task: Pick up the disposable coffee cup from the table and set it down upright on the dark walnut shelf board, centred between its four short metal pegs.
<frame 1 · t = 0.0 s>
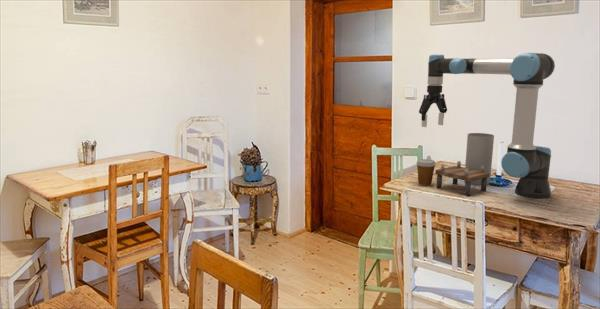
hand: (432, 126, 248), 28 cm above the table, tool pointing down, fingers open, 13 cm apart
peg shelf stand: (460, 189, 230), on the table
disposable coffee cup: (424, 184, 240), on the table
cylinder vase: (476, 183, 243), on the table
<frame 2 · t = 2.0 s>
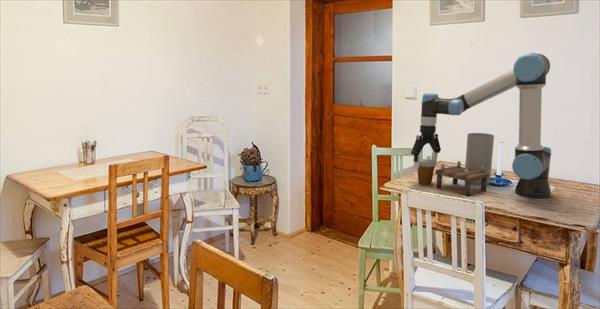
hand: (425, 166, 239), 9 cm above the table, tool pointing down, fingers open, 13 cm apart
nothing on the table moved.
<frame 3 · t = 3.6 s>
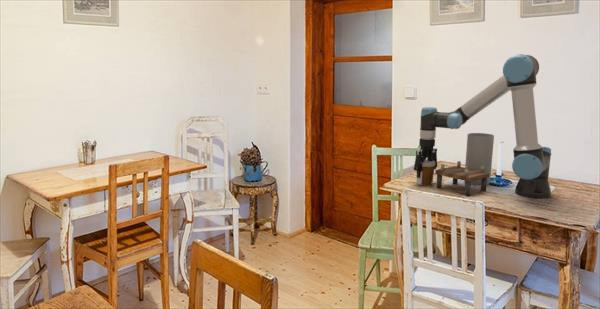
hand: (424, 182, 240), 1 cm above the table, tool pointing down, fingers closed on disposable coffee cup, 8 cm apart
disposable coffee cup: (424, 184, 240), on the table, touching gripper
everything else where it was.
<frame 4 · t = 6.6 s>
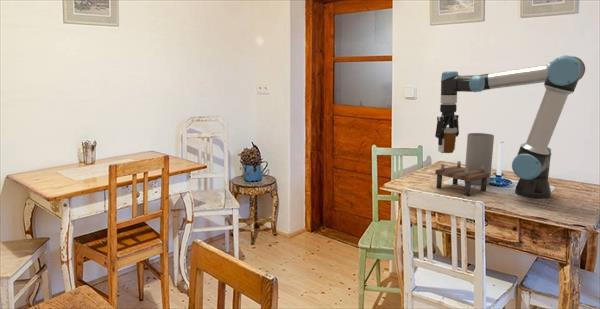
hand: (446, 150, 231), 18 cm above the table, tool pointing down, fingers closed on disposable coffee cup, 8 cm apart
disposable coffee cup: (446, 152, 231), point 17 cm above the table, touching gripper
everything else where it was.
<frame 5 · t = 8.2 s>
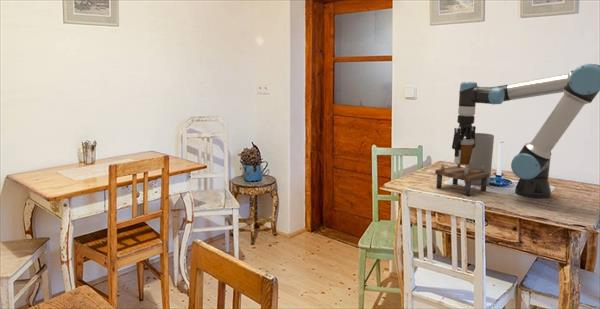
hand: (462, 162, 228), 14 cm above the table, tool pointing down, fingers closed on disposable coffee cup, 8 cm apart
disposable coffee cup: (462, 164, 228), point 13 cm above the table, touching gripper
everything else where it was.
when the fingers open (11 cm above the table, at t = 9.5 s): disposable coffee cup drops 1 cm, resting on peg shelf stand.
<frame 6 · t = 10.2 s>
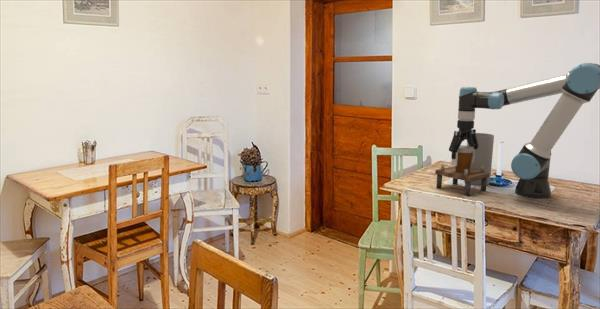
hand: (462, 163, 228), 13 cm above the table, tool pointing down, fingers open, 13 cm apart
disposable coffee cup: (462, 171, 229), point 9 cm above the table, touching peg shelf stand
everything else where it was.
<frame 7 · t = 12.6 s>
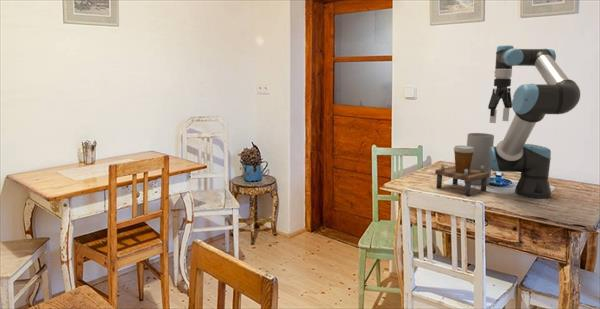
hand: (499, 122, 233), 32 cm above the table, tool pointing down, fingers open, 13 cm apart
nothing on the table moved.
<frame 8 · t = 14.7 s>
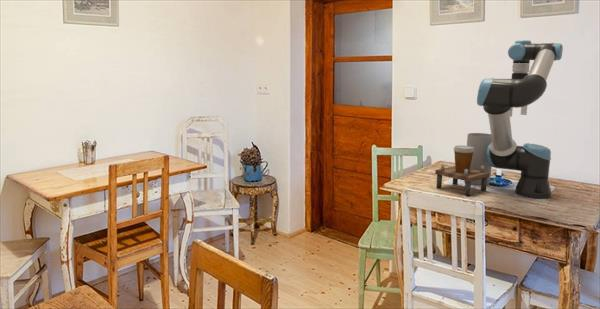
hand: (516, 115, 237), 35 cm above the table, tool pointing down, fingers open, 13 cm apart
nothing on the table moved.
at the end: disposable coffee cup 0.1 cm off-centre on the peg shelf stand, point 8.8 cm above the peg shelf stand's base; disposable coffee cup tilted 0°; the gripper is holding nothing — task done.
